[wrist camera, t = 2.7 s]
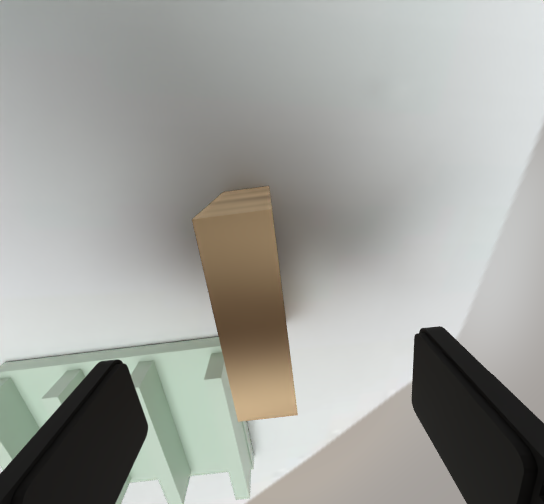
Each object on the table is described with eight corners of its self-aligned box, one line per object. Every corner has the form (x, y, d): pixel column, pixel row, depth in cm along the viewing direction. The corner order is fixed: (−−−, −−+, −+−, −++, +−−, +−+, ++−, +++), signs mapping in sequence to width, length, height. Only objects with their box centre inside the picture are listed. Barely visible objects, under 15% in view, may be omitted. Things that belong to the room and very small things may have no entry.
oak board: (223, 191, 15) (191, 219, 9) (268, 185, 15) (272, 209, 9) (247, 326, 18) (238, 421, 12) (285, 321, 18) (297, 414, 12)
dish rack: (4, 362, 19) (-46, 402, 16) (228, 335, 18) (221, 370, 15) (69, 476, 23) (39, 525, 20) (253, 455, 22) (252, 502, 19)
